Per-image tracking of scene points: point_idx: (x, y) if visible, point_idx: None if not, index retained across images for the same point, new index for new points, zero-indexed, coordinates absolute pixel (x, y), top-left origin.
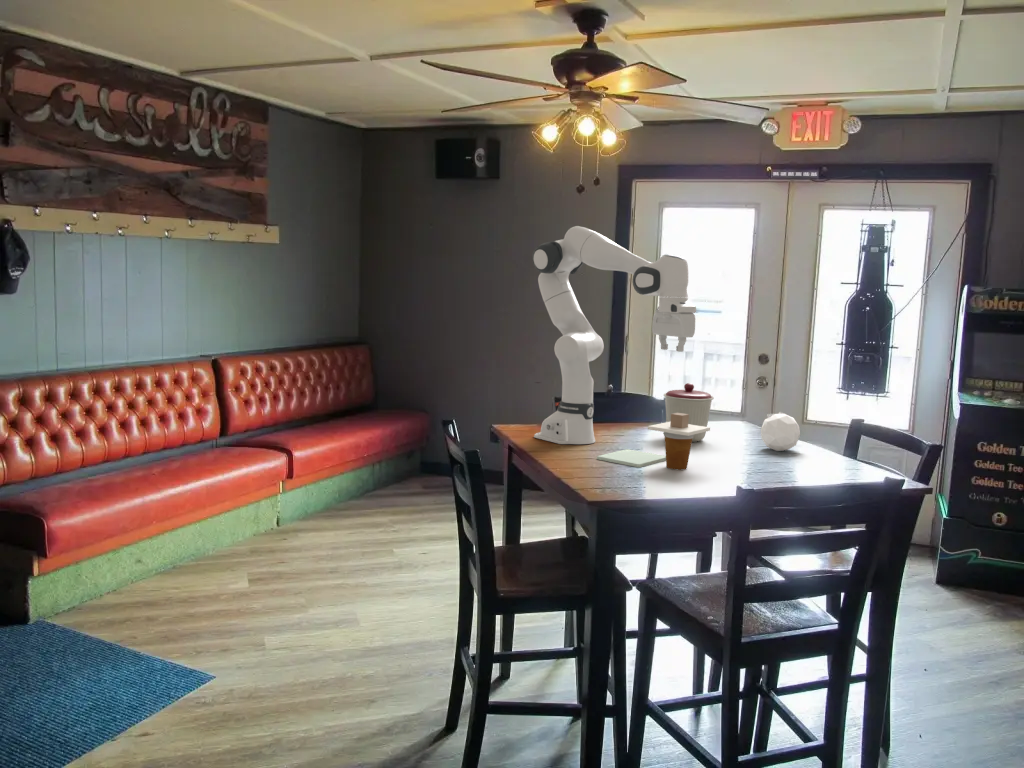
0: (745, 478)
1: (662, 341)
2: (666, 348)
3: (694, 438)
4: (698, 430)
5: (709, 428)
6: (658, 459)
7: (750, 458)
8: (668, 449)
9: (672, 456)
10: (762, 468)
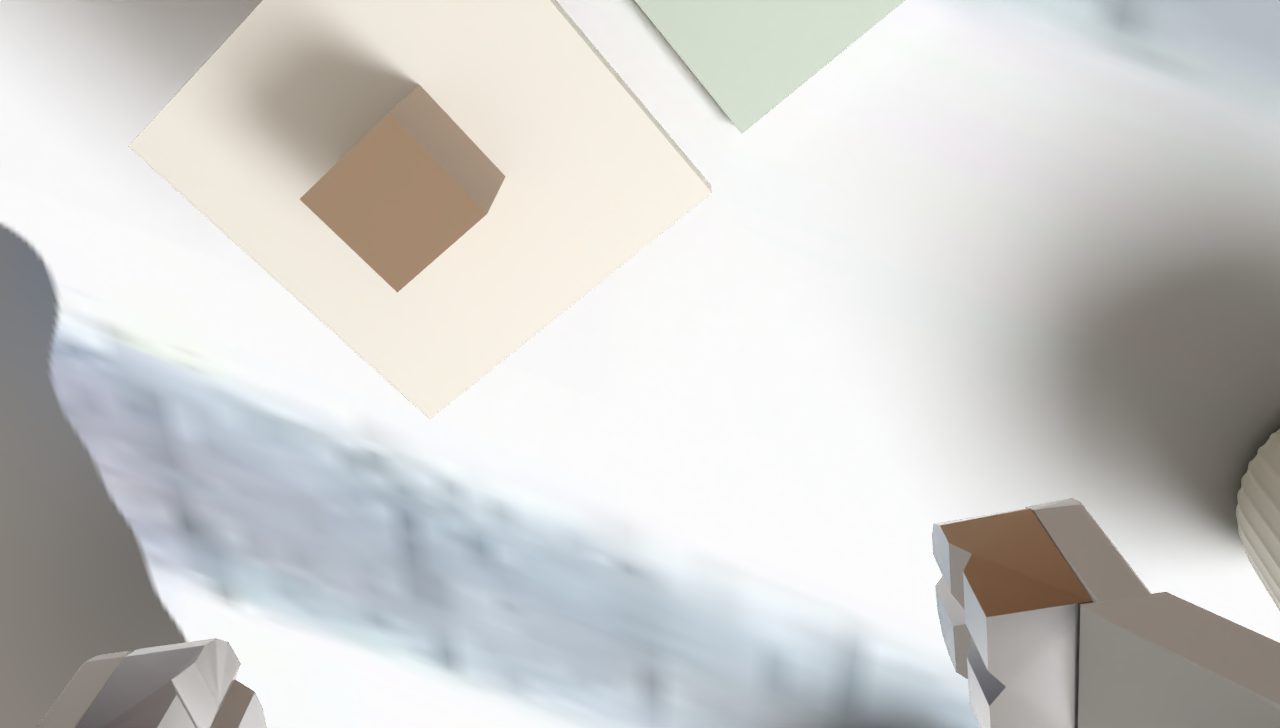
0: (243, 397)
1: (1168, 700)
2: (947, 619)
3: (1240, 499)
4: (278, 279)
5: (423, 408)
6: (649, 18)
7: (751, 609)
8: None
9: None
10: (503, 570)
